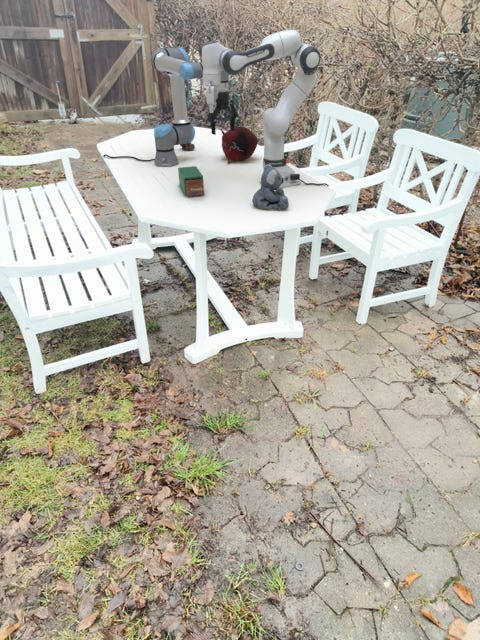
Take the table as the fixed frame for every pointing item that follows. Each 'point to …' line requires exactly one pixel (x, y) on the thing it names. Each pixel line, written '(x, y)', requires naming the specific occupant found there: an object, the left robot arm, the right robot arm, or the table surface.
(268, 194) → the koala plush
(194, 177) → the cabinet
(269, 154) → the right robot arm
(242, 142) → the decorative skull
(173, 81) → the left robot arm
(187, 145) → the rock
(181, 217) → the table surface
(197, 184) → the drawer
